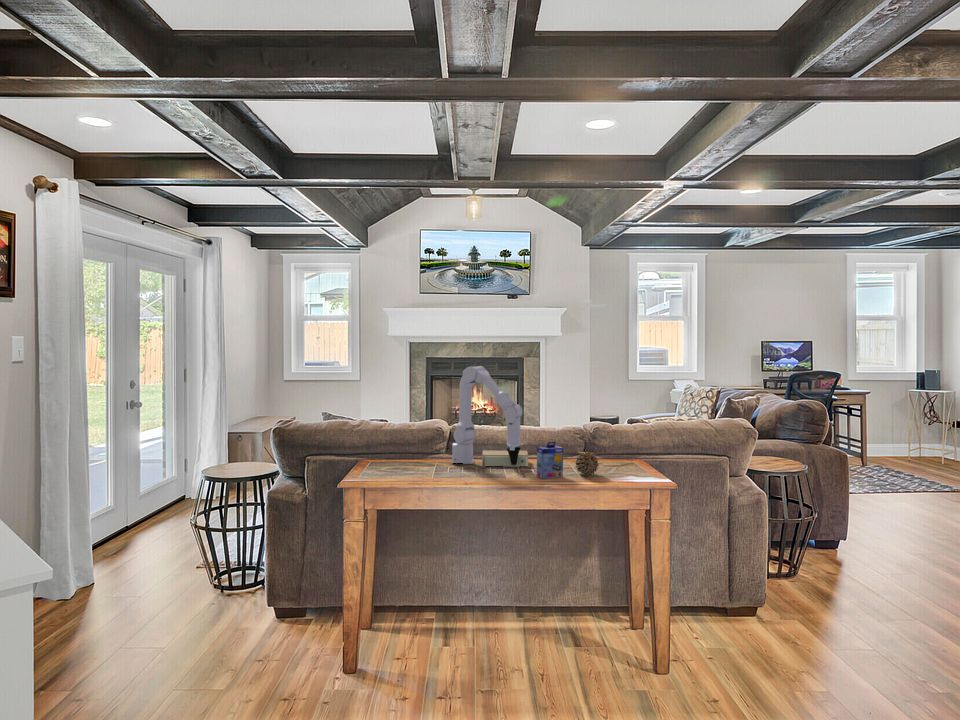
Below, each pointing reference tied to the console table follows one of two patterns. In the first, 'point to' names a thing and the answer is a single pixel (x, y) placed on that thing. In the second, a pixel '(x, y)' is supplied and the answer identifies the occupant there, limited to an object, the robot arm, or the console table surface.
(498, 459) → the door
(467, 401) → the robot arm
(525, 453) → the beige flat box
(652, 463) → the console table surface
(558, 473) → the ink cartridge box
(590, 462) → the pine cone
